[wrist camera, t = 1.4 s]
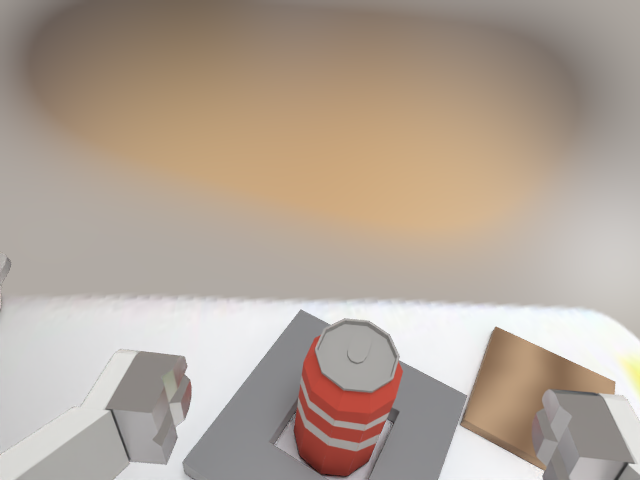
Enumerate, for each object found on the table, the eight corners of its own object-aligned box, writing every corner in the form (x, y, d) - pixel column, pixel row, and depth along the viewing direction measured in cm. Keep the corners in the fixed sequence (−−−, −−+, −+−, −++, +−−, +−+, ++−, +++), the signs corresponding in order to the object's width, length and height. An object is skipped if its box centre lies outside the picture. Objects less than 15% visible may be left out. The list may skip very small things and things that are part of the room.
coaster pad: (460, 424, 39) (464, 419, 38) (492, 332, 46) (495, 326, 45) (599, 500, 35) (606, 495, 35) (609, 387, 43) (615, 381, 42)
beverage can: (380, 416, 38) (416, 330, 30) (358, 494, 34) (392, 417, 26) (312, 389, 40) (328, 299, 31) (281, 460, 35) (291, 377, 27)
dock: (185, 473, 34) (182, 462, 32) (299, 322, 44) (300, 309, 43) (386, 613, 29) (393, 607, 28) (459, 407, 40) (467, 395, 38)
